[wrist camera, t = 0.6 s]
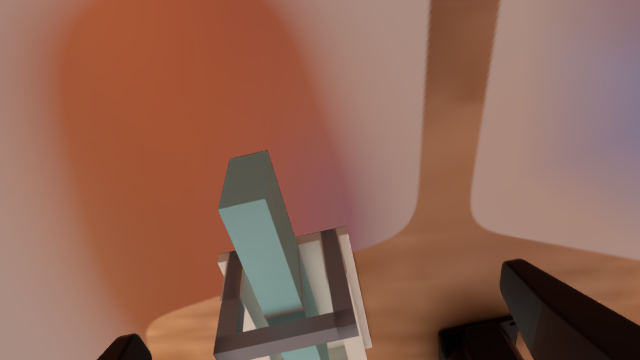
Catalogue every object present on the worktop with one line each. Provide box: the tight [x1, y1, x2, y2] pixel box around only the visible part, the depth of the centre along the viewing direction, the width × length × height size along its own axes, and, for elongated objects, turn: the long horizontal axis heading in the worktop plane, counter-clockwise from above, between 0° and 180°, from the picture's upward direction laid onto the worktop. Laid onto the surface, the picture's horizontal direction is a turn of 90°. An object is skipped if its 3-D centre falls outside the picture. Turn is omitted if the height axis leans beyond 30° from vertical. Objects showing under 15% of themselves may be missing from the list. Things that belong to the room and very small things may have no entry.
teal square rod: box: [218, 150, 329, 360], centre depth 21 cm, size 16×2×4 cm, turn 11°
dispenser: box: [213, 226, 372, 360], centre depth 24 cm, size 12×8×7 cm
